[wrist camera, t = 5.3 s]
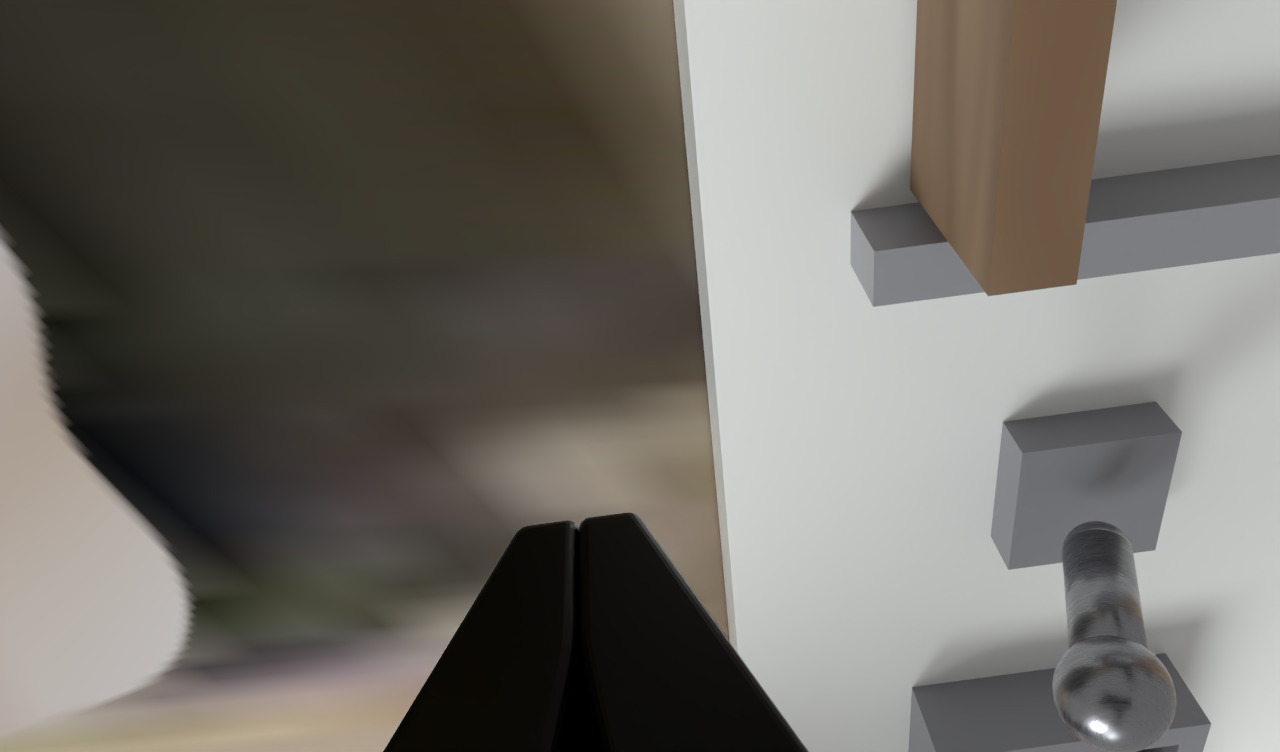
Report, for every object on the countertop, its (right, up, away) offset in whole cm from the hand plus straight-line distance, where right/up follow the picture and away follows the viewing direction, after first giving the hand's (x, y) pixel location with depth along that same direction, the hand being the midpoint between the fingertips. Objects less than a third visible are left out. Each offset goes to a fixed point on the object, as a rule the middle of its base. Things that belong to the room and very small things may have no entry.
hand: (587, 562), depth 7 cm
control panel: (+9, +1, +15) cm, 17 cm away
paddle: (+5, +6, +8) cm, 12 cm away
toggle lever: (+9, -1, +13) cm, 16 cm away
